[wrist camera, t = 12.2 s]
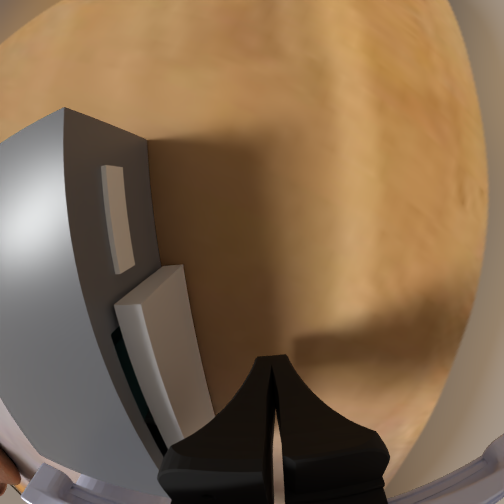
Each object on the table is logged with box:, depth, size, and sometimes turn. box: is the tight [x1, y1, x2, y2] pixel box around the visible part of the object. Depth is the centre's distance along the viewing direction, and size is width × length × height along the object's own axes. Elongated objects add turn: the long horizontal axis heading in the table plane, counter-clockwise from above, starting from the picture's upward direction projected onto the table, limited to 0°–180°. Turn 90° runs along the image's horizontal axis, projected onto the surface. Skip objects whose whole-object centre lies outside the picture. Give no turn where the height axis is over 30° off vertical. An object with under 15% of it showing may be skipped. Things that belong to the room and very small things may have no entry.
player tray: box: [114, 264, 215, 449], centre depth 11 cm, size 10×9×5 cm
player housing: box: [0, 107, 170, 498], centre depth 10 cm, size 16×10×6 cm, turn 6°
